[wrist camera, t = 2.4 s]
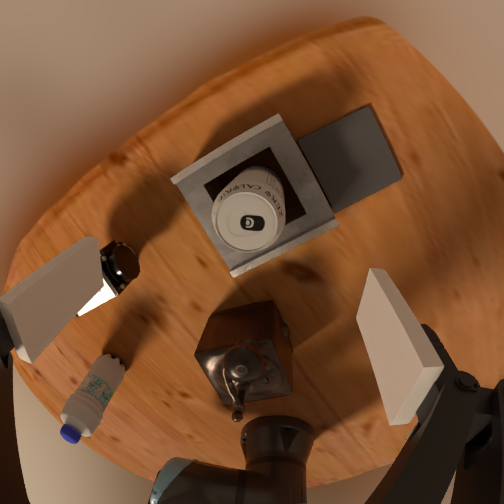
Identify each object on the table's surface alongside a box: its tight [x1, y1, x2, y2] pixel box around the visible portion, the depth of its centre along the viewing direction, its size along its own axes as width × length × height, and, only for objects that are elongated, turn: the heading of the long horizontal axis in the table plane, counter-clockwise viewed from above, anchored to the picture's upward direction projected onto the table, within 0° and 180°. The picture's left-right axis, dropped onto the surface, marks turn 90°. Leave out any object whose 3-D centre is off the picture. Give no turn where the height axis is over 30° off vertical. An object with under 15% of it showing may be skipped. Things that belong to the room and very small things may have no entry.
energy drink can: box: [212, 166, 285, 252], centre depth 30 cm, size 6×6×15 cm
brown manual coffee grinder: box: [194, 301, 293, 422], centre depth 36 cm, size 16×11×18 cm
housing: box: [170, 113, 339, 278], centre depth 34 cm, size 13×13×7 cm
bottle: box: [60, 354, 125, 444], centre depth 42 cm, size 7×7×20 cm
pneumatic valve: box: [76, 241, 140, 317], centre depth 36 cm, size 6×12×12 cm, turn 119°
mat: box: [297, 106, 402, 213], centre depth 34 cm, size 10×10×1 cm
